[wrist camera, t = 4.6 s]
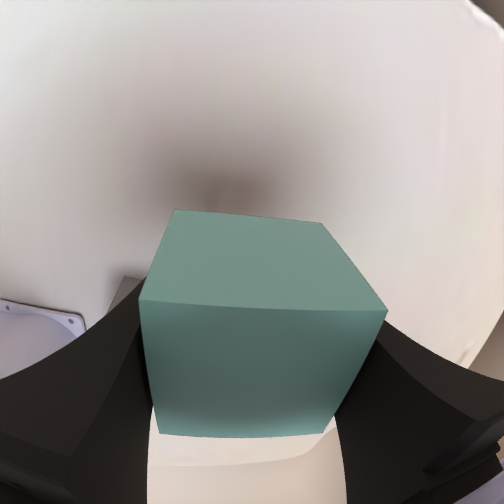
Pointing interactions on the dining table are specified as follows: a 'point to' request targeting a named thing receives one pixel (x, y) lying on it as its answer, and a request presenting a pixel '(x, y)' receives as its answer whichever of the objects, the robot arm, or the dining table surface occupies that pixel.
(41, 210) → the dining table surface
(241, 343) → the teal block
